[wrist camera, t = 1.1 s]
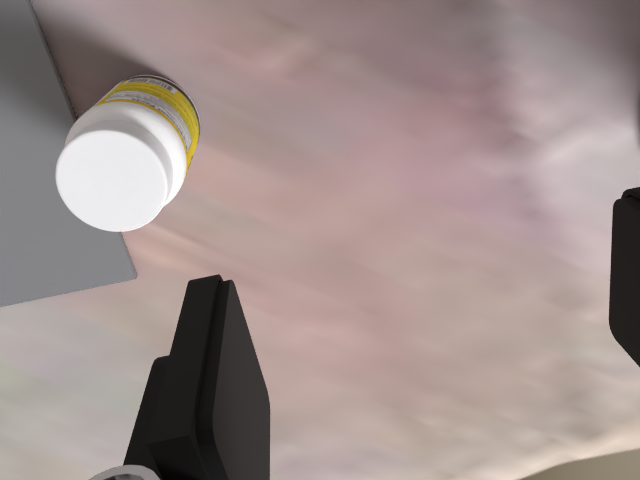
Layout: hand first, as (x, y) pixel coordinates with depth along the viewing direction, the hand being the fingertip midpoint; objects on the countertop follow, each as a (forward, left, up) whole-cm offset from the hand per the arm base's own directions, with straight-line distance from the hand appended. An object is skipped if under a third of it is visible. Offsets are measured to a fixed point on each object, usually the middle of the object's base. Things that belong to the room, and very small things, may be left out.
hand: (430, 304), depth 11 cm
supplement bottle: (+9, 0, -20) cm, 22 cm away
